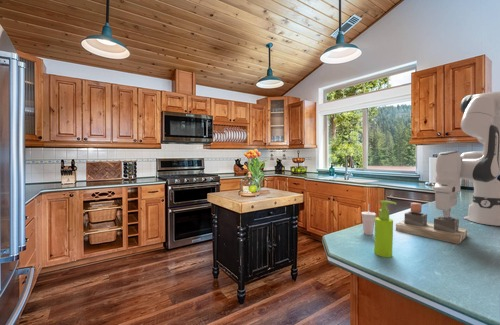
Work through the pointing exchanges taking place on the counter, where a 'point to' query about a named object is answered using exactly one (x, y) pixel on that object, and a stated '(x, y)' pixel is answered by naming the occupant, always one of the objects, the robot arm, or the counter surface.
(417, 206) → the terracotta button
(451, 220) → the grey cube
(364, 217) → the smoothie
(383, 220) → the soap dispenser
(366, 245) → the counter surface
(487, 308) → the counter surface
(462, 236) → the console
